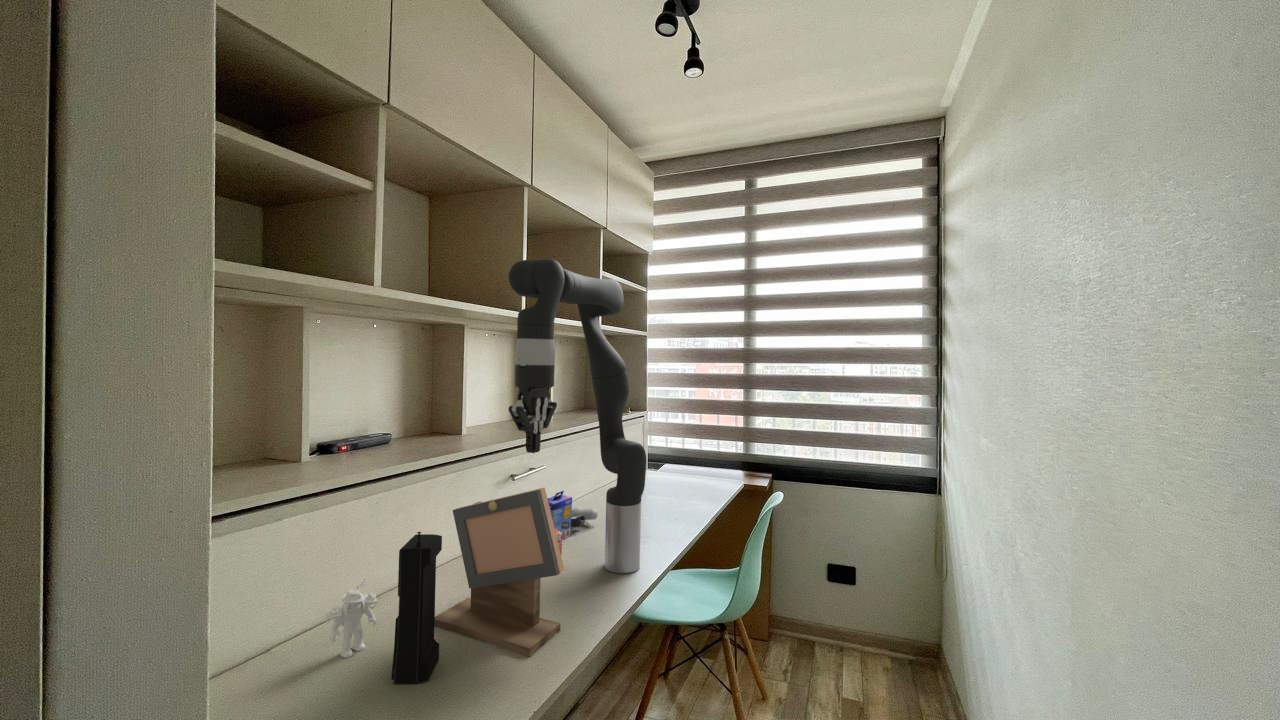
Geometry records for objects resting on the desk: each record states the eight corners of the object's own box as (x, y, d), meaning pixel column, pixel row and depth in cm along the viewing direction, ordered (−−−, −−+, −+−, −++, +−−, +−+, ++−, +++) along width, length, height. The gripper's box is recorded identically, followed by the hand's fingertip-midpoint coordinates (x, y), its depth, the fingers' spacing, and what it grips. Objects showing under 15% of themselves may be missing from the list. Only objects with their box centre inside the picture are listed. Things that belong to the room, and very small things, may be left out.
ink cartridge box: (551, 546, 148) (552, 496, 148) (536, 542, 151) (537, 493, 151) (572, 536, 157) (573, 488, 157) (557, 532, 160) (558, 486, 160)
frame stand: (467, 604, 112) (470, 497, 112) (560, 630, 103) (563, 513, 103) (431, 625, 103) (434, 509, 103) (529, 656, 93) (533, 528, 93)
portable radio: (406, 657, 92) (410, 518, 92) (441, 656, 93) (444, 518, 93) (389, 685, 85) (392, 533, 84) (426, 684, 85) (430, 533, 85)
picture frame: (477, 583, 106) (461, 507, 108) (564, 570, 98) (544, 487, 100) (467, 589, 104) (450, 510, 105) (555, 576, 95) (535, 490, 97)
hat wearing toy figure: (370, 636, 99) (371, 574, 99) (381, 643, 97) (383, 579, 97) (320, 659, 91) (322, 591, 91) (331, 666, 89) (333, 597, 89)
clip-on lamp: (539, 532, 169) (579, 532, 158) (535, 513, 169) (575, 511, 159) (564, 520, 178) (603, 519, 168) (560, 502, 178) (599, 499, 168)
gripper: (539, 362, 107) (537, 445, 107) (496, 362, 95) (494, 455, 95) (569, 363, 104) (567, 448, 104) (530, 363, 92) (528, 460, 92)
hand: (532, 452), depth 99 cm, fingers closed
